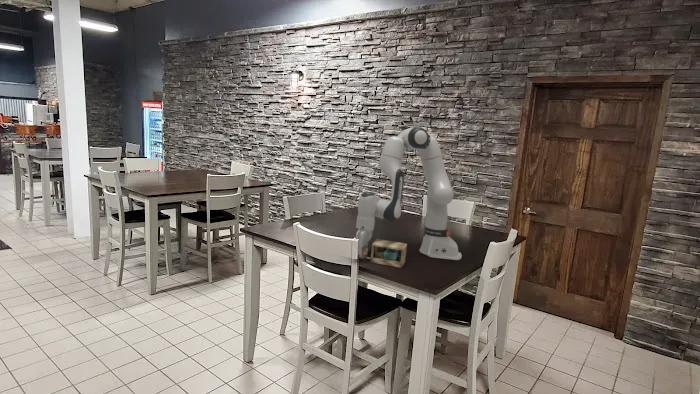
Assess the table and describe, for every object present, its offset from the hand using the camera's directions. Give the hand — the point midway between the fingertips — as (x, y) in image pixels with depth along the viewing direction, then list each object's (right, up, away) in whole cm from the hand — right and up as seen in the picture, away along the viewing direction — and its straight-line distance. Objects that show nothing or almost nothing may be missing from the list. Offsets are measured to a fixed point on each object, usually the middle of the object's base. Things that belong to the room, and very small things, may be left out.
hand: (362, 251), depth 198 cm
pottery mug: (+15, -3, +10) cm, 18 cm away
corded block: (+7, -4, -2) cm, 9 cm away
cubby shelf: (+12, -5, -3) cm, 14 cm away
